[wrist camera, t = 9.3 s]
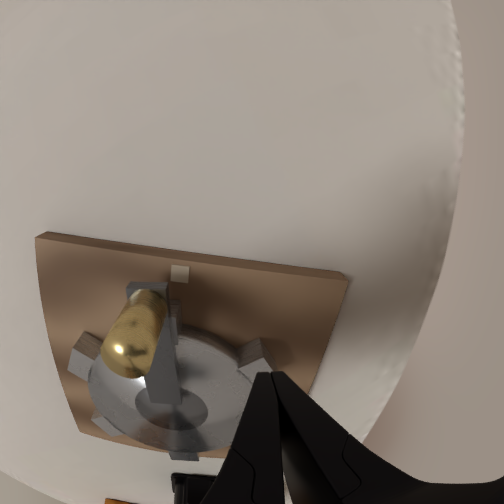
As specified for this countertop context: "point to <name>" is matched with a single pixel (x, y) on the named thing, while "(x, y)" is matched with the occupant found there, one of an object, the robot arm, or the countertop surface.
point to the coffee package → (114, 502)
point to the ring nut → (167, 376)
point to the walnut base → (183, 306)
